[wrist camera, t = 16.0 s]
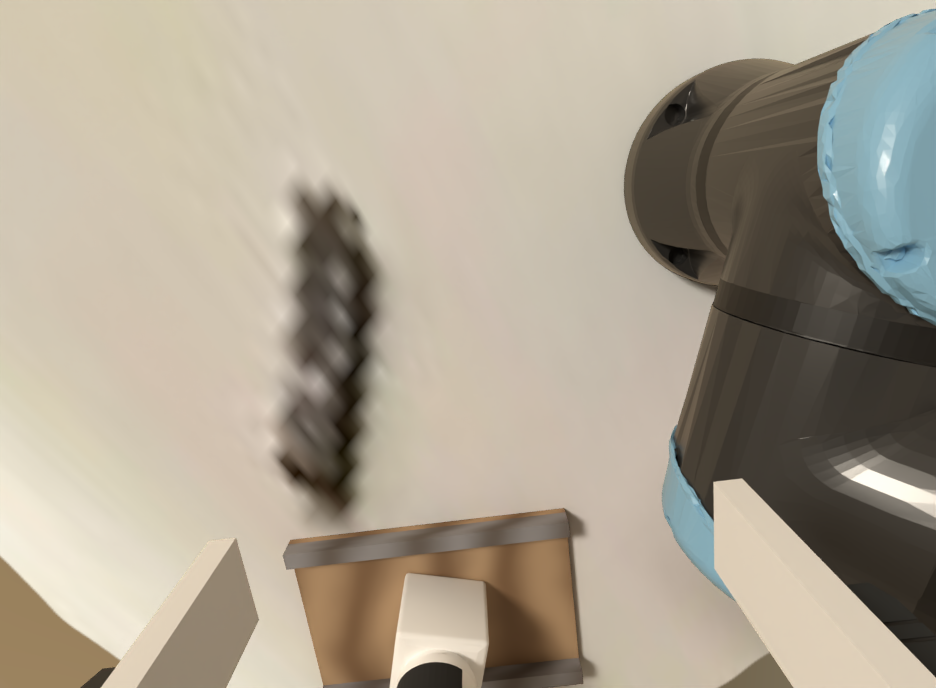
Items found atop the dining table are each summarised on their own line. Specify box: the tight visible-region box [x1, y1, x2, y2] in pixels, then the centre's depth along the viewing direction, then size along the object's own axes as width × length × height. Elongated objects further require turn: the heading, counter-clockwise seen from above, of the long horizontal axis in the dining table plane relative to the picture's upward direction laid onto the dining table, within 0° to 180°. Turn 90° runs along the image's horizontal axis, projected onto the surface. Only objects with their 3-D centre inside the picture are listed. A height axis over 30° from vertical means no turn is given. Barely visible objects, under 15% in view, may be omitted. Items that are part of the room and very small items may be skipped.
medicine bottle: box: [390, 573, 489, 688], centre depth 43 cm, size 7×7×12 cm
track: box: [283, 508, 583, 688], centre depth 49 cm, size 24×17×2 cm
